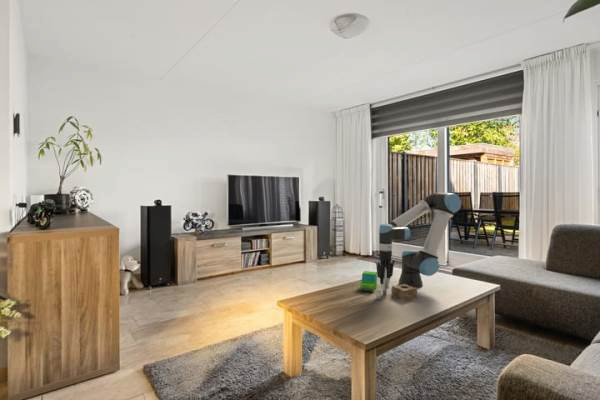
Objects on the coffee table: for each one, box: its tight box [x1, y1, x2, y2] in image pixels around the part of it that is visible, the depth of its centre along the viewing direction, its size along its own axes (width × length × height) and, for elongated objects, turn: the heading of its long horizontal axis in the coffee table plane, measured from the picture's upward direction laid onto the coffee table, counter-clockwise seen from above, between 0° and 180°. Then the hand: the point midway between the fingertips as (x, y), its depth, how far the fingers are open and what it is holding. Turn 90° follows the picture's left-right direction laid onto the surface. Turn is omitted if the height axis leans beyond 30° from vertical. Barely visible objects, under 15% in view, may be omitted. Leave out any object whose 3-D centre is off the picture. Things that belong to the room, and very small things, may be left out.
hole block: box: [391, 284, 418, 302], centre depth 200 cm, size 10×10×6 cm
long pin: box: [382, 269, 388, 297], centre depth 203 cm, size 2×2×16 cm
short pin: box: [375, 290, 382, 302], centre depth 195 cm, size 2×2×5 cm
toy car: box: [359, 270, 378, 293], centre depth 214 cm, size 10×13×10 cm
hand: (384, 288), depth 204 cm, fingers closed on long pin, 2 cm apart
